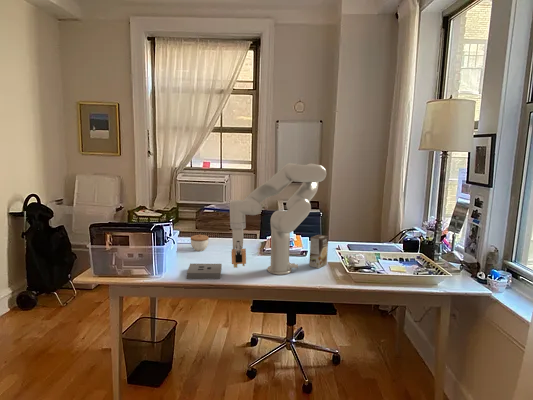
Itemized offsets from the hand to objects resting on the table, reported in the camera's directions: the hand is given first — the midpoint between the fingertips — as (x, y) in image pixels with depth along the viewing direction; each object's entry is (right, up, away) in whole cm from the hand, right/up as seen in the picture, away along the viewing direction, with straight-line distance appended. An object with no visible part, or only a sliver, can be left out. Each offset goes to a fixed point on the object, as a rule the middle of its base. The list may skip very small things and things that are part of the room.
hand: (238, 259), depth 197 cm
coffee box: (+42, -6, +17) cm, 46 cm away
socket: (-17, -7, 0) cm, 19 cm away
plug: (0, -3, +1) cm, 3 cm away
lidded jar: (-27, 0, +41) cm, 49 cm away
